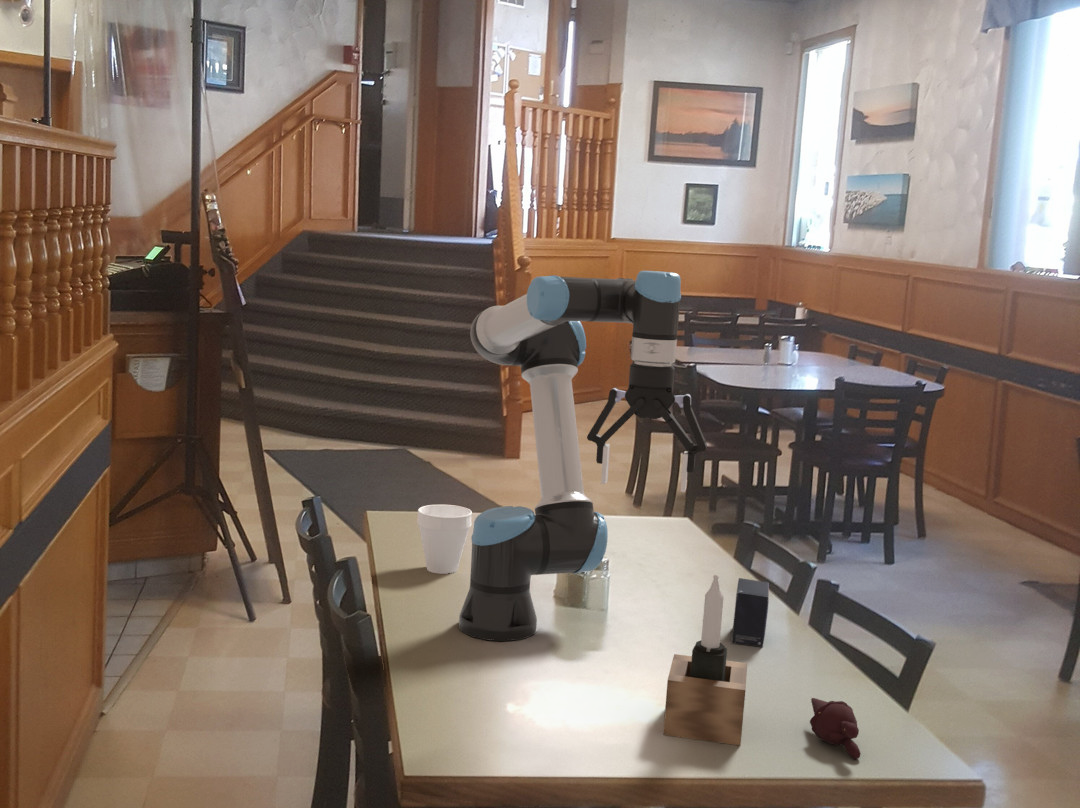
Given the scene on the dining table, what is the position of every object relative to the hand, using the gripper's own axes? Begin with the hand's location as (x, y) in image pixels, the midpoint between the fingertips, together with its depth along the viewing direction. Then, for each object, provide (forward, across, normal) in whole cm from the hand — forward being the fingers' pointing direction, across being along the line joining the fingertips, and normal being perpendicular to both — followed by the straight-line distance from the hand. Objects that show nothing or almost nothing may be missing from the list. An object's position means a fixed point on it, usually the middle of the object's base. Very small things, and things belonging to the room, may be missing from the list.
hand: (643, 486), depth 201 cm
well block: (+35, +14, -15) cm, 40 cm away
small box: (+35, +20, +31) cm, 51 cm away
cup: (+35, -49, +52) cm, 80 cm away
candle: (+35, +14, -15) cm, 40 cm away
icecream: (+35, +34, -14) cm, 51 cm away
